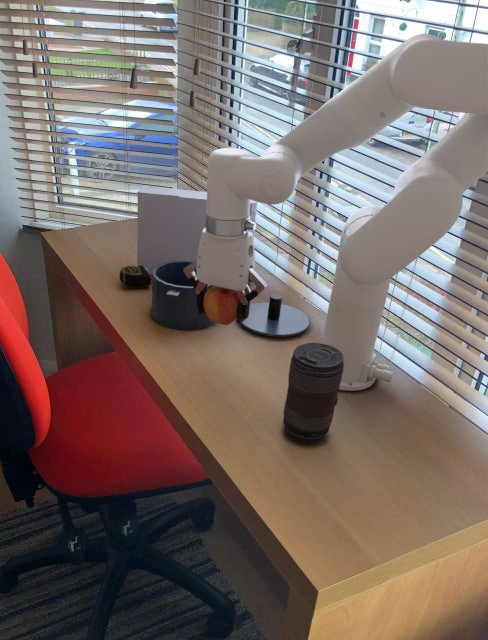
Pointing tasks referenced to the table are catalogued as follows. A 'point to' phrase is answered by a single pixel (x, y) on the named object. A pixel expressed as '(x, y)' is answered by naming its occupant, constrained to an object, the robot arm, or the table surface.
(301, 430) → the camera lens
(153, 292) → the pot
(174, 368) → the table surface
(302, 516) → the table surface
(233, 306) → the apple
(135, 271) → the tape measure
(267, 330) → the lid
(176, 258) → the game console
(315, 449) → the table surface
